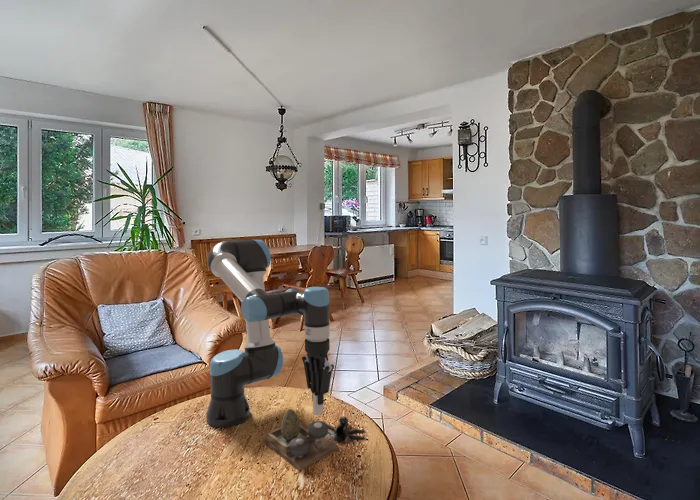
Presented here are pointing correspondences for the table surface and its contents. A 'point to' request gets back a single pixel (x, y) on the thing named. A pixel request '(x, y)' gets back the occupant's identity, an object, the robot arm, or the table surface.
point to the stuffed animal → (343, 432)
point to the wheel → (318, 429)
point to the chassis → (300, 447)
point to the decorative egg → (290, 425)
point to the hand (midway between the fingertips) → (318, 413)
